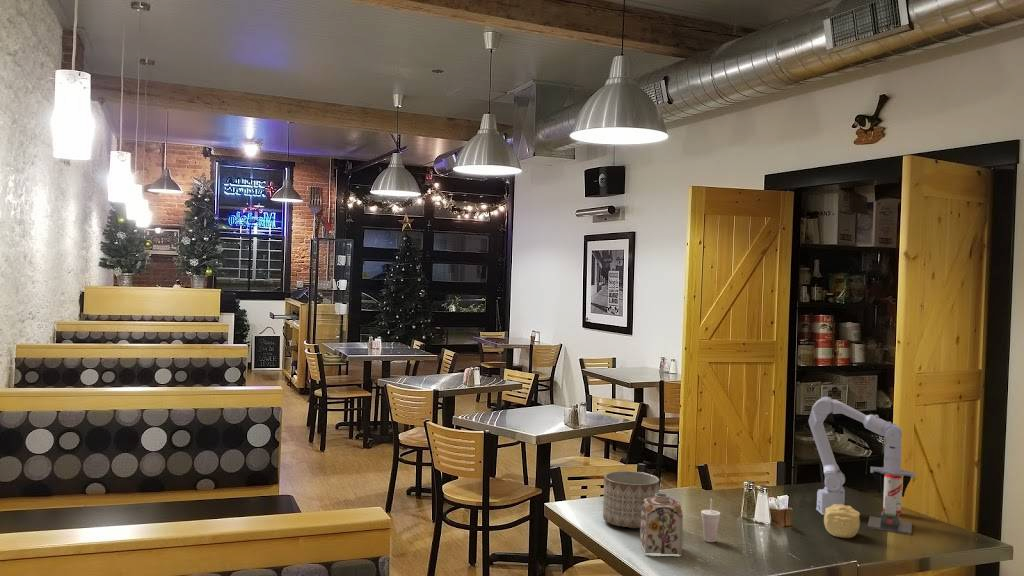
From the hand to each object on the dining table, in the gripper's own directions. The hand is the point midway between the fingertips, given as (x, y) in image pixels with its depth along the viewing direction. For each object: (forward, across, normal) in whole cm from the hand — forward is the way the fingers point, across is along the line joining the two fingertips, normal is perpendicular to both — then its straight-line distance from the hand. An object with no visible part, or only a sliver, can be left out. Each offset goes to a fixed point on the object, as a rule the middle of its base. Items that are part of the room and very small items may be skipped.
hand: (891, 494), depth 284 cm
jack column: (+7, 0, -6) cm, 9 cm away
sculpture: (+11, -14, -27) cm, 32 cm away
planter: (+11, -81, -57) cm, 99 cm away
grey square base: (+10, 0, -6) cm, 12 cm away
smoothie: (+11, -52, -60) cm, 80 cm away
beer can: (+11, 0, +13) cm, 17 cm away
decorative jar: (+11, -63, -79) cm, 101 cm away
